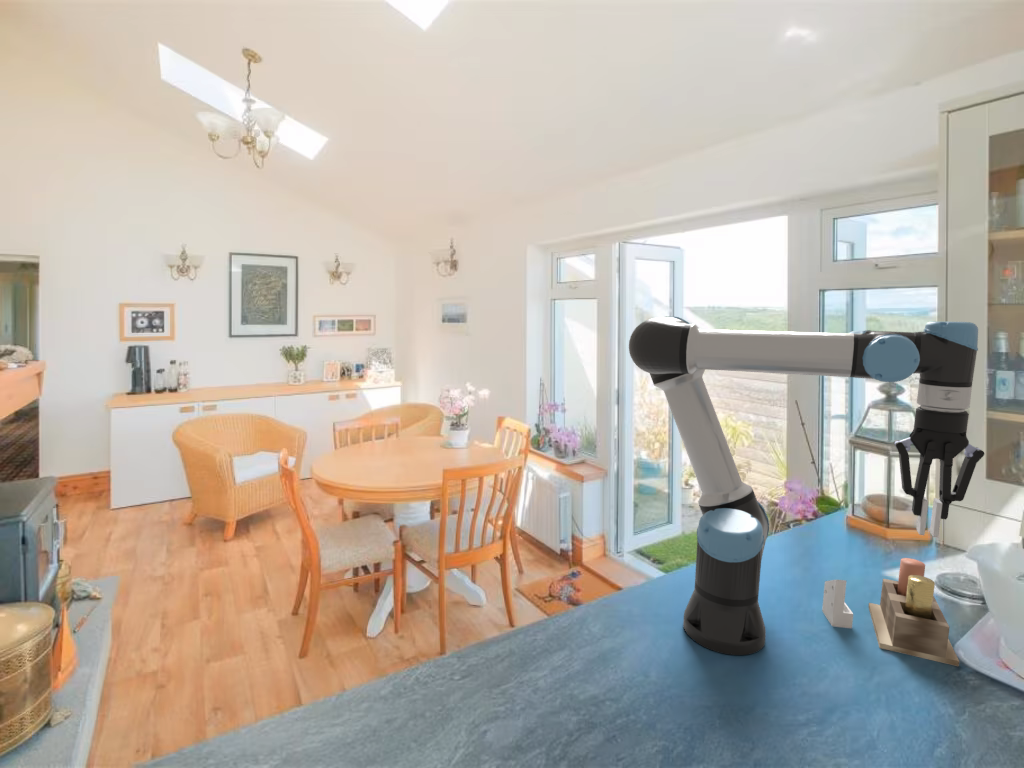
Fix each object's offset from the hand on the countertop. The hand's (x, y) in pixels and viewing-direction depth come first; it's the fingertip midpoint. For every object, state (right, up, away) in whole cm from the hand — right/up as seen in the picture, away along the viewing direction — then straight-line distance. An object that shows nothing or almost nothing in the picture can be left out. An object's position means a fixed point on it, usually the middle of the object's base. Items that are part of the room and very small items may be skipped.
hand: (927, 533), depth 102 cm
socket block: (+2, -22, +7) cm, 23 cm away
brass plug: (0, -17, +2) cm, 17 cm away
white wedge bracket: (-10, -21, +12) cm, 26 cm away
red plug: (+3, -16, +10) cm, 19 cm away
